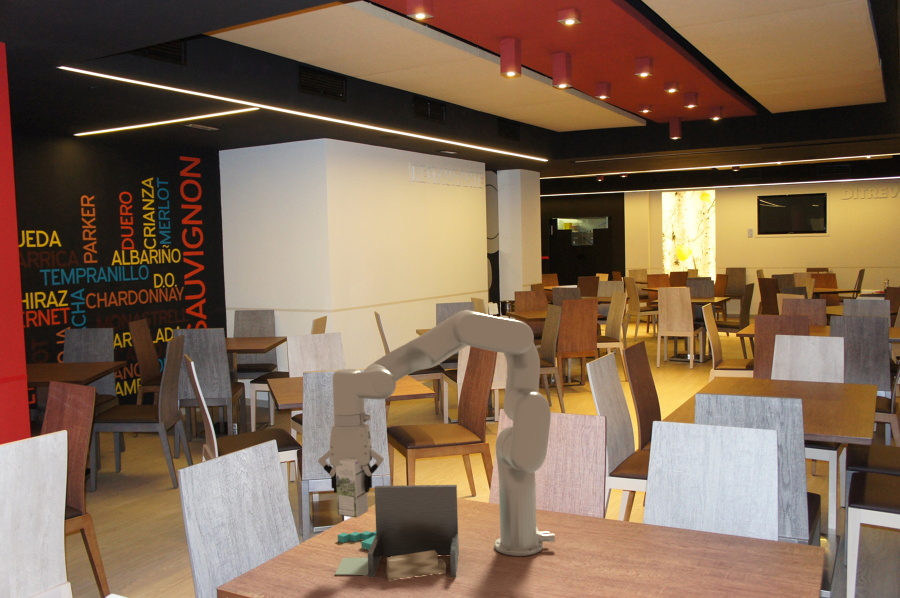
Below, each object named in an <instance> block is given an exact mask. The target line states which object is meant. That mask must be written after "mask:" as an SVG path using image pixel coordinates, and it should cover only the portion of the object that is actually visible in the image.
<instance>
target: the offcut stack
mask: <svg viewBox="0 0 900 598" xmlns="http://www.w3.org/2000/svg"><path fill="white" fill-rule="evenodd" d="M446 565H447V564H446V563H445V561H444V559H439V556H438V554H437V553H436V551H435V550H432V551H425V552H419V553H412V554H405V555H398V556H392V557H386V567H385V571H386V572H385V574H386V578H388V579H387V581H388V580H394V579H400V578H407V577H415V576H422V575H430V574H438V575H440V574H439V573H445V574H446V570H447V569H446V567H447V566H446ZM394 581H395V580H394Z"/></svg>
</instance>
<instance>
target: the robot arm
mask: <svg viewBox="0 0 900 598" xmlns="http://www.w3.org/2000/svg"><path fill="white" fill-rule="evenodd" d="M534 340H535V336H534V331H533V330H532V328H531V326H529V325H528V324H527V323H525V322H524V321H521V320H517V319H514V318H507V317H504V318H503V317H498V316H493V315H489V314H485V313H482V312H478V311H473V310H469V309H464V310H461V311H457V312H456V313H455V314H453V315H451V316H449V317H447V319H445V320H443V321H441V322H440V323H439V324H437V325H436V326H434V327H431V329H429V330H427V331H426V332H424V333H423V334H421V335H420V336H417V337H415V338H414V339H412V340H409V341H408V342H406V343H405V344H402V345H401V346H399V347H398V348H395V349H393V350H392V351H390V352H388V353H386V354H385V355H383V356H382V357H380V358H379V359H377V360H376V361H374V362H372V363H371V364H369V365H368V366H367V367H366V368H365V369H364V370H363V371H361V370H360V369H355V368H354V369H353V368H352V369H351V368H348V369H347V368H346V369H340V370H336V371H335V372H334V373H333V375H332V398H333V399H332V401H333V402H332V403H333V424H332V425H331V430H330V436H329V449H328V450H327V452H326V453H324V454H323V455H322V456H321V457H320V458H319V459H317V460H318V463H319V465H320V466H321V467H323V470H324V471H325V472H326V473H327V474H329V476H330V478H331V479H330V480H331V489H333V493H334V494H335V493H336V494H337V485H336V466H338V465H339V462H340V460H343V459H354V458H357V459H358V463H359V466H362V468H363V469H364V471H365V473H366V475H365V492H367V493H369V491H370V490H371V488H373V476H372V475H373V473H375V472H376V471H377V469H378V468H379V467H380V466H381V465H382V463H383V462H384V457H383V456H381V454H379V453H377V451H375V450H374V449H373V447H372V437H371V430H370V426H369V423H366V422H368V421H371V419H372V418H371V416H372V415H371V414H366V411H365V399H367V400H368V399H369V400H379V401H380V400H384V399H385V400H386V399H388V398H389V397H391V396H392V395H393V394H394V393H395V392H396V388H397V382H398V381H400V380H401V379H403V378H404V377H406V376H409V375H410V374H412V373H415V372H417V371H421V370H422V371H423V370H427V369H428V370H429V369H431V368H434V367H437V366H438V365H440V364H442V363H443V362H445V361H446V360H447V359H449V358H450V357H452V356H454V355H455V354H456V353H458V352H460V351H461V350H463V349H464V348H466V347H467V346H469V347H472V348H477V349H481V350H485V351H490V352H497V353H503V354H504V357H505V360H506V368H507V369H506V379H505V380H506V381H505V390H504V396H503V397H504V398H503V411H504V414H505V416H506V417H507V418H508V420H511V421H512V425H511V426H507V427H505V428H503V429H502V430H501V432H499V434H498V436H497V437H496V441H495V457H496V463H497V472H498V500H499V501H498V502H499V503H498V504H499V505H498V506H499V509H498V510H499V538H497V539H496V540H495V541H494V548H495V550H496V551H497V552H499V553H500V554H503V555H507V556H513V557H525V556H531V555H532V556H533V555H535V554H537V553H539V552H541V551H542V550H543V549H544V544H543V543H544V542H548V543H549V542H550V543H551V542H552V543H554V542H556V541H555V540H556V539H555V534H554V533H550V531H540V530H539V529H538V526H537V497H536V495H537V494H536V493H537V492H536V489H537V487H536V484H537V482H536V473H535V472H537V471H538V470H539V469H540V468H542V467H543V465H544V463H545V460H546V456H547V454H548V453H547V452H548V445H549V439H550V438H549V437H550V429H551V427H550V426H551V417H552V416H551V414H552V413H551V408H550V405H549V401H548V400H547V399H546V397H545V396H544V395H543V393H540V392H539V391H540V376H541V375H540V374H541V373H540V372H541V360H540V355H539V352H538V349H537V346H536V344H535V342H534ZM327 459H329V463H328V462H327ZM373 459H374V460H375V462H374V464H373V465H371V461H372V460H373Z"/></svg>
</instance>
